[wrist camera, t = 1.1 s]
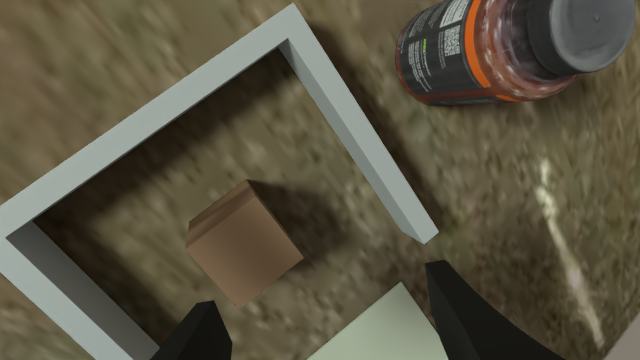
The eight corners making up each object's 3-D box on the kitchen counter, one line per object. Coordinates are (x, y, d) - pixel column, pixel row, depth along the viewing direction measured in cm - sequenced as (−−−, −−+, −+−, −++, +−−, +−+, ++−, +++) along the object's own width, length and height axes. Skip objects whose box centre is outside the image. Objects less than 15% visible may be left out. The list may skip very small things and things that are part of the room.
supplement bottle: (488, 73, 27) (676, 48, 16) (419, 124, 26) (568, 132, 15) (448, -11, 25) (629, -101, 14) (373, 41, 24) (505, -15, 14)
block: (232, 271, 24) (238, 309, 20) (189, 221, 23) (185, 249, 19) (285, 230, 25) (303, 257, 20) (245, 179, 24) (255, 195, 19)
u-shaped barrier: (187, 403, 25) (185, 441, 22) (-7, 217, 21) (-41, 234, 18) (414, 219, 27) (438, 231, 24) (282, 16, 23) (293, 2, 20)
